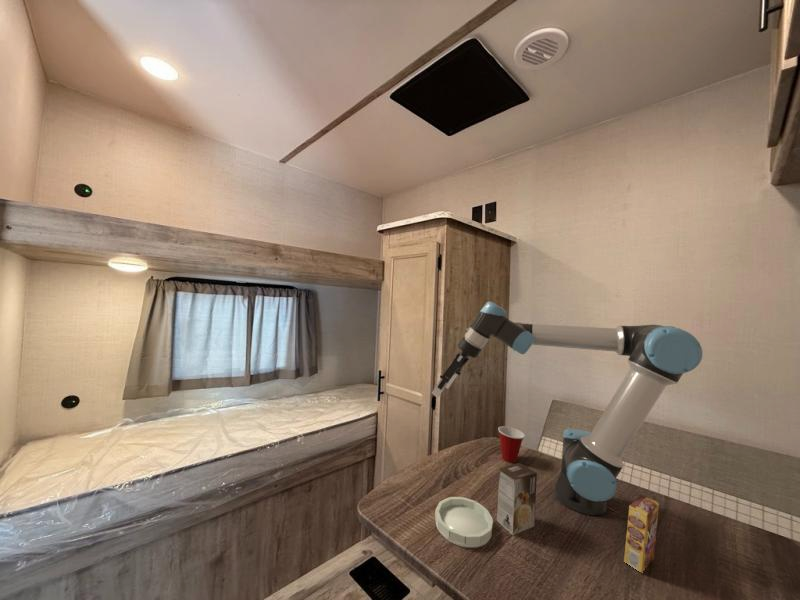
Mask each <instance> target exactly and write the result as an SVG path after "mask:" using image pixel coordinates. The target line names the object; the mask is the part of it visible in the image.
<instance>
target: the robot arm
mask: <svg viewBox="0 0 800 600" xmlns="http://www.w3.org/2000/svg"><path fill="white" fill-rule="evenodd" d="M507 313H508V312H507V310H505V309H504V308H503V307H501V306H499V305H498V304H496V303H494V302H493V301H487V302H486V303H485V304H484V306H483V307H481V310H480V311H479V312H478V314H477V315H476V317H475V318H474V320H473V321H472V323H471V325H470V326H469V327H467V328H465V329H466V333H465V334H464V337H462V338H461V339H460V341H459V342H458V345H457V347H458V349H460V350H461V352H458V353H457V354H456V355H455V357H454V359H453V360H452V362H451V364H450V365H449V366H448V368H447V369H445V372H443V374H440V375H439V378H440V379H439V381H437V384H436V385H435V386H434V389H432V392H431V394H432V395H433V396H434V397H436V398H437V399H439V397H440V396H441V394H442V393H443V391H444V390H445V389H448V390H449V389H450V387H451V386H452V384H453V382H455V379H456V378H457V376H460V375H461V374H462V369H463V368H464V366H465V365H466V364H467V362H469V360H470V357H471V358H472V359H473V358H475V359H476V358H477V357H479V354H480V353H481V351H482V349H483V348H484V347H485V346H486V344H487V343H488V341H489V340H490V338H491V336H493V337H494V338H496V339H497V340H499V341H500V342H502V343H503V344H505V345H506V346H507V347H509V348H511V350H513V351H514V352H516V353H519V354H521V355H525V354H526V353H527V352H528V351H529V349H530V348H531V347H532V346H533V345H535V346H544V347H555V348H556V347H557V348H568V349H580V350H593V351H602V352H603V351H604V352H613V353H614V352H615V353H616V354H617V355H619V356H627V357H629V358H628V360H627V363H628V365H629V370H628V372H627V373H626V375H625V377H624V378H623V380H622V382H621V383H620V385H619V386H618V389H617V390H616V392H615V393H614V395H613V396H612V398H611V400H610V401H609V402H608V405H607V406H606V408H605V410H604V411H603V413H602V415H601V416H600V418H599V420H598V421H597V423H596V424H595V426H594V427H593V429H592V431H587V430H583V429H578V428H566V429H565V430H564V431H563V436H562V438H563V439H562V440H563V441H562V453H561V456H562V457H561V469H560V472H559V476H558V478H557V481H555V484H554V489H553V490H554V496H555V497H556V498H557V500H558V501H559V502H560V503H562V505H564V506H565V507H568V508H569V509H571V510H573V511H576V512H577V513H580V514H584V515H588V516H601V515H604V514H605V513H606V511H607V501H608V500H611V499H612V498H613V497H614V496H615V495H616V493H617V492H616V491H617V488H618V487H617V486H618V483H617V480H616V479H617V478H618V476H619V474H620V472H621V471H622V469H623V468H624V462H623V460H622V456H623V455H624V453H625V451H626V450H627V448H628V447H629V446H630V444H631V442H632V440H633V439H634V437H635V435H636V434H637V433H638V432H639V430H640V428H641V426H642V425H643V423H644V421H645V420H646V418H647V417H648V415H649V413H650V412H651V411H652V409H653V407H654V406H655V405H656V402H657V401H658V400H659V398H660V396H661V394H662V393H663V392H664V390H665V389H666V386H670V385H676V384H678V382H679V380H681V378H682V376H683V374H687V373H688V372H691V371H693V370H695V369H696V368H697V367H698V366H699V365H700V363H701V362H702V360H703V348H702V346H701V343H700V341H699V340H698V339H697V337H695V336H694V335H693V334H692V333H690V332H689V331H686V330H684V329H681V328H679V327H675V326H671V325H661V324H645V325H644V324H640V325H618V326H616V327H615V328H613V327H612V328H611V327H595V326H592V327H591V326H575V325H556V324H539V323H538V324H537V323H521V322H513V321H512V320H510V319H509V318H507V316H506V315H507Z"/></svg>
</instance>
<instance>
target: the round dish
mask: <svg viewBox="0 0 800 600" xmlns="http://www.w3.org/2000/svg"><path fill="white" fill-rule="evenodd" d="M434 519H435V527H436V528H437V531H438V532H439V533H440V535H441V536H442V537H443V538H444V539H445V540H447V541H448V542H450V543H452V544H454V545H456V546H458V547H461V548H466V549H468V548H469V549H475V548H480V547H484V546H485V545H487V544H488V543H489V541H490V540H491V538H492V535H493V528H494V527H493V526H494V525H493V524H494V519H493V517H492V515H491V513H490V512H489V510H488V509H487V508H486V507H485V506H484V505H482V504H480V503H479V502H478V501H476V500H473V499H471V498H467V497H464V496H449V497H446V498H444V499H443V500H441V501H439V502H438V504H437V506H436V508H435V512H434Z"/></svg>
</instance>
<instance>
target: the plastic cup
mask: <svg viewBox="0 0 800 600" xmlns="http://www.w3.org/2000/svg"><path fill="white" fill-rule="evenodd" d="M497 429H498V434H499V442H500V444H499V445H500V451H501V459H502V460H503V461H505V462H506V463H510V464H511V463H512V464H513V463H514V464H515V463H516V462H517V460H518V456H519V453H520V449H521V446H522V442H523V440H524V439H525V437H526V435H525V433H524V432H522V431H521V430H520V429H517V428H514V427H512V426H507V425H506V426H505V425H502V426H499V427H498V428H497Z"/></svg>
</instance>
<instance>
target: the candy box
mask: <svg viewBox="0 0 800 600" xmlns="http://www.w3.org/2000/svg"><path fill="white" fill-rule="evenodd" d="M659 506H660V504H659V502H658V501H656V500H654V499H652V498H650V497H647V496H645V495H642V494H640V495H639V496H638V497H637V498H636V499H635V500H634V501H633V502H632V503H631V504H629V506H628V515H627V516H628V517H627V526H626V528H627V529H626V535H625V536H626V537H625V546H624V556H623V557H624V558H623V563H624V562H625V563H624V564H626V563H627V564H628V566H629V565H630V566H631V568H632V567H633V568H634V569H633V568H632V569H633V570H635V569H636V570H637V571H636V570H635V571H636V572H638V571H639V572H641V573H642V574H643V573H644V572H645V570H646V569H647V568H648V566H649V565H650V564H651V563H650V561H651V560H652V559H653V558H654V559H655V551H656V542H657V540H656V539H657V528H658V517H659V516H658V515H659ZM654 559H653V560H654ZM653 560H652V561H653ZM652 561H651V562H652ZM649 563H650V564H649ZM627 564H626V565H627ZM648 564H649V565H648ZM647 565H648V566H647ZM630 566H629V567H630ZM646 567H647V568H646ZM645 568H646V569H645ZM643 571H644V572H643ZM639 572H638V573H639ZM641 573H640V574H641Z"/></svg>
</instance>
